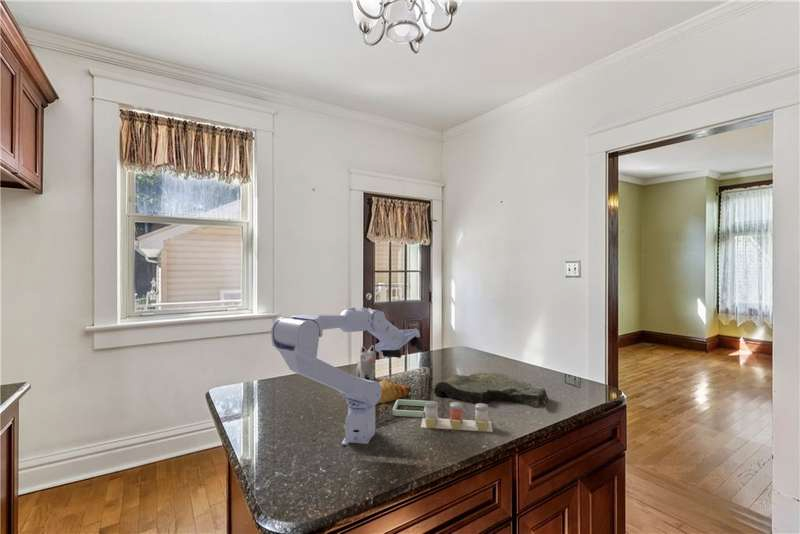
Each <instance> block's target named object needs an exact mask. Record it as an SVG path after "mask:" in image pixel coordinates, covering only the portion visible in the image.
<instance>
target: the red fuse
mask: <svg viewBox="0 0 800 534" xmlns="http://www.w3.org/2000/svg"><path fill="white" fill-rule="evenodd" d="M463 407H464V405H463V402H459V401H452V402H450V403H449V419H450V425H451V426H452V419H454V420H461V426H462V425H463V420H464V419H463V418H464V417H463V416H464V415H463V414H464V413H463V409H464V408H463Z"/></svg>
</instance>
